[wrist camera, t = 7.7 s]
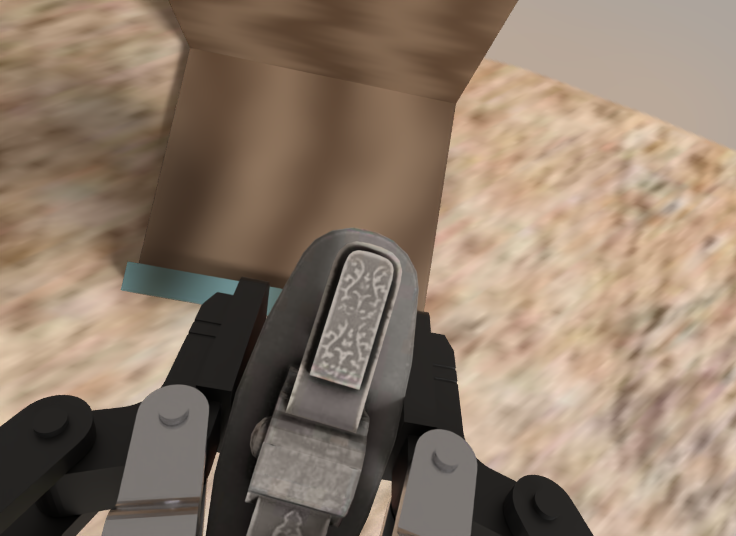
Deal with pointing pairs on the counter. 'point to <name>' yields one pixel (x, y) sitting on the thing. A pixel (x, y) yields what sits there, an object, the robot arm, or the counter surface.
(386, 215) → the wall holder
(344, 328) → the lighter
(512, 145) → the counter surface
